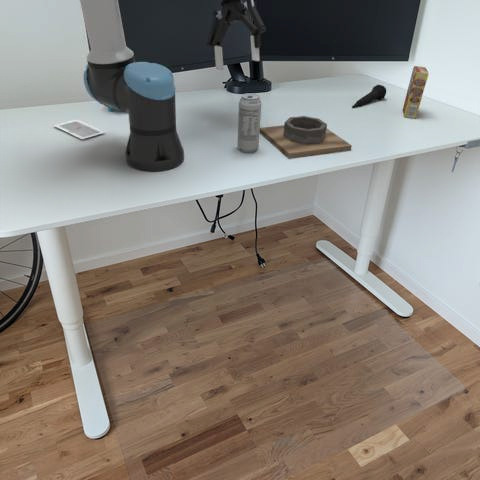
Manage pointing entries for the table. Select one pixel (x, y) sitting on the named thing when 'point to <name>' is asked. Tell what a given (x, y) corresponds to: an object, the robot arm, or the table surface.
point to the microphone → (372, 96)
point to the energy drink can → (249, 122)
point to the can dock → (303, 148)
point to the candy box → (415, 91)
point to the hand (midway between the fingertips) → (237, 65)
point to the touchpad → (79, 129)
